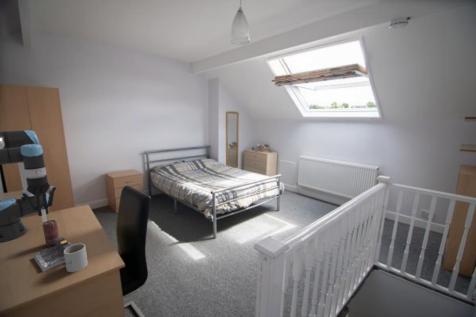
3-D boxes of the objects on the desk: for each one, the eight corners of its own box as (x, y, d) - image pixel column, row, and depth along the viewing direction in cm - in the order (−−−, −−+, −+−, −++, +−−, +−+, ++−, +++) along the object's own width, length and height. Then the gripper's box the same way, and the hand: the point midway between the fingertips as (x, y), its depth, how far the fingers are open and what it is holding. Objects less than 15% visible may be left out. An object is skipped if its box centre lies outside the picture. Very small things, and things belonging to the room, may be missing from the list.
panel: (33, 258, 116) (32, 254, 115) (69, 244, 128) (69, 240, 128) (42, 271, 106) (41, 267, 105) (81, 255, 118) (80, 251, 118)
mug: (89, 265, 110) (87, 248, 108) (69, 274, 104) (65, 256, 102) (83, 255, 118) (80, 238, 116) (63, 263, 112) (60, 245, 110)
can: (52, 247, 125) (48, 225, 122) (43, 246, 126) (39, 224, 123) (62, 241, 130) (59, 220, 128) (54, 240, 132) (50, 219, 129)
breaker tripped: (60, 250, 119) (59, 242, 118) (67, 248, 122) (66, 239, 120) (62, 252, 117) (61, 244, 116) (69, 250, 120) (67, 241, 119)
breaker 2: (64, 254, 116) (62, 246, 115) (70, 252, 118) (69, 243, 117) (66, 256, 114) (64, 248, 113) (72, 254, 117) (71, 245, 116)
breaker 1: (57, 247, 122) (56, 239, 121) (64, 244, 125) (62, 236, 124) (59, 249, 121) (57, 241, 120) (65, 246, 123) (64, 238, 122)
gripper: (19, 181, 99) (29, 228, 103) (55, 174, 109) (62, 218, 114) (16, 177, 103) (25, 223, 108) (51, 172, 113) (58, 214, 118)
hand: (44, 220), depth 111 cm, fingers closed
